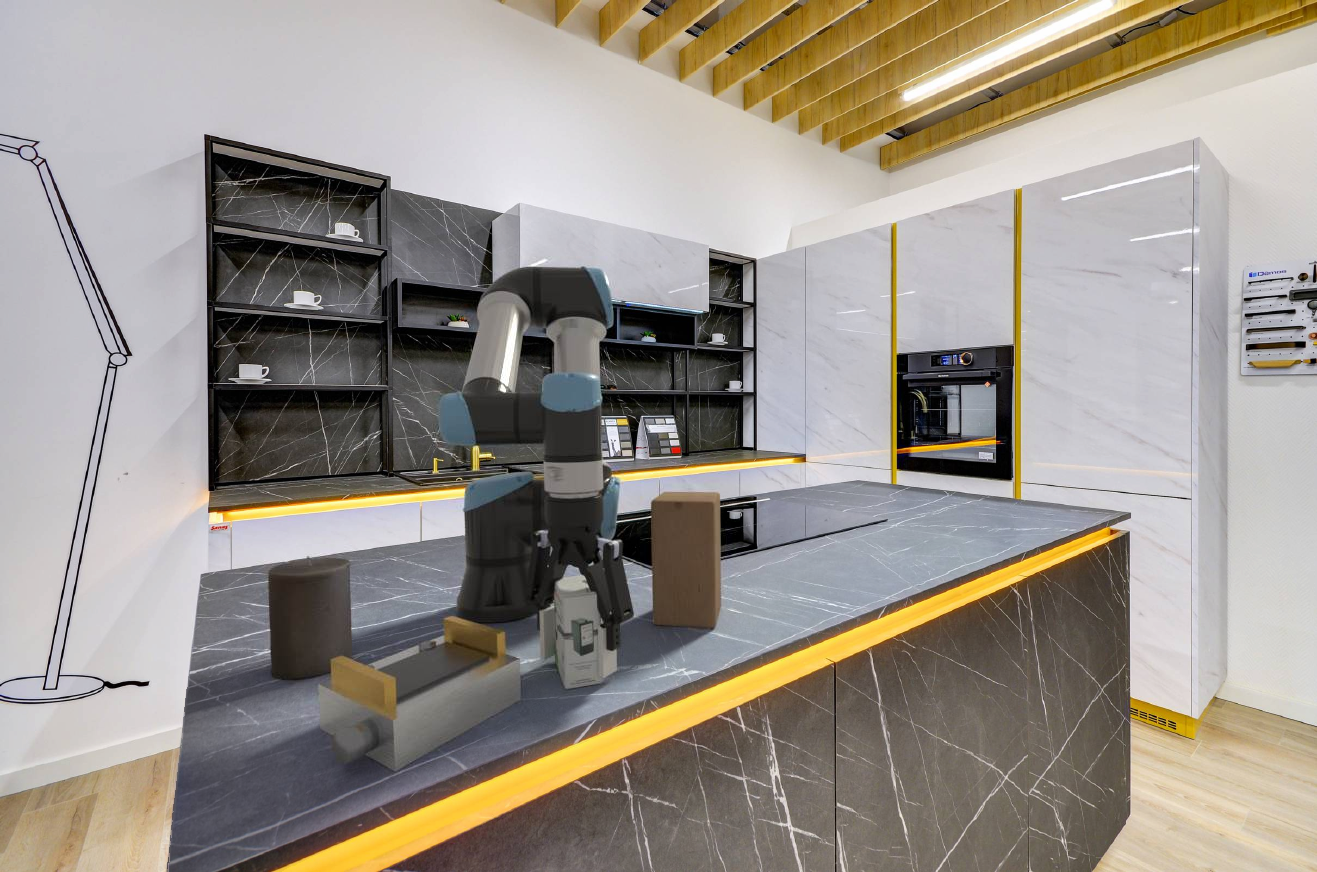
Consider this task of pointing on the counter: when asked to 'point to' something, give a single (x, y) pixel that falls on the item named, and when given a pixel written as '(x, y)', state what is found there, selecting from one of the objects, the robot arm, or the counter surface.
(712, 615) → the wooden block
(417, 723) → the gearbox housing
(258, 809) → the counter surface
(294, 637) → the pillar candle
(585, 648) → the ink box
